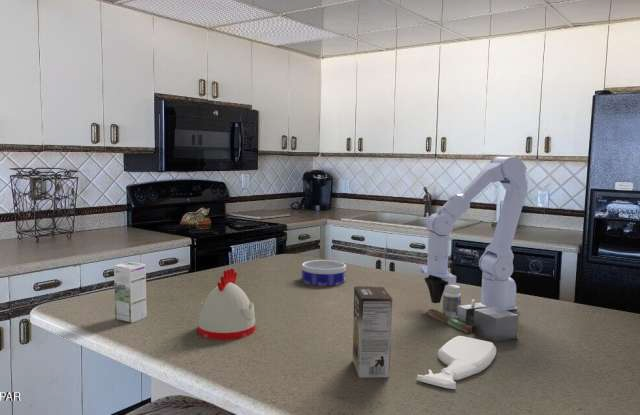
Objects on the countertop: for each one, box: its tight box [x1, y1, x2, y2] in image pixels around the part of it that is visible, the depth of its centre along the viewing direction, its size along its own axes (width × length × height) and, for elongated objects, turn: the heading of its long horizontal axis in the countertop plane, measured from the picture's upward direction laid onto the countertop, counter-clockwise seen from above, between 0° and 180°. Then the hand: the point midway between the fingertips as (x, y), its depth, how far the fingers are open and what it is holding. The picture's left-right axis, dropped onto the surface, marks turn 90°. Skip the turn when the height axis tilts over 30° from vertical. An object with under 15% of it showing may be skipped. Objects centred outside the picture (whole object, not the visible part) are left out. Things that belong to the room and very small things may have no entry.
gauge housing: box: [472, 307, 519, 343], centre depth 128 cm, size 7×8×6 cm
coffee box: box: [352, 285, 393, 379], centre depth 106 cm, size 9×6×16 cm
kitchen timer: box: [197, 268, 256, 341], centre depth 128 cm, size 14×14×15 cm
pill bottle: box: [442, 284, 462, 319], centre depth 143 cm, size 5×5×8 cm
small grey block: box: [457, 299, 488, 328], centre depth 134 cm, size 7×7×7 cm
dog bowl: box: [301, 259, 347, 287], centre depth 181 cm, size 15×15×6 cm
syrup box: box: [113, 261, 148, 324], centre depth 134 cm, size 6×6×14 cm
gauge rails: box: [427, 308, 473, 334], centre depth 139 cm, size 11×16×2 cm
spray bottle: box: [416, 335, 497, 390], centre depth 108 cm, size 3×11×24 cm
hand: (435, 302), depth 149 cm, fingers closed
